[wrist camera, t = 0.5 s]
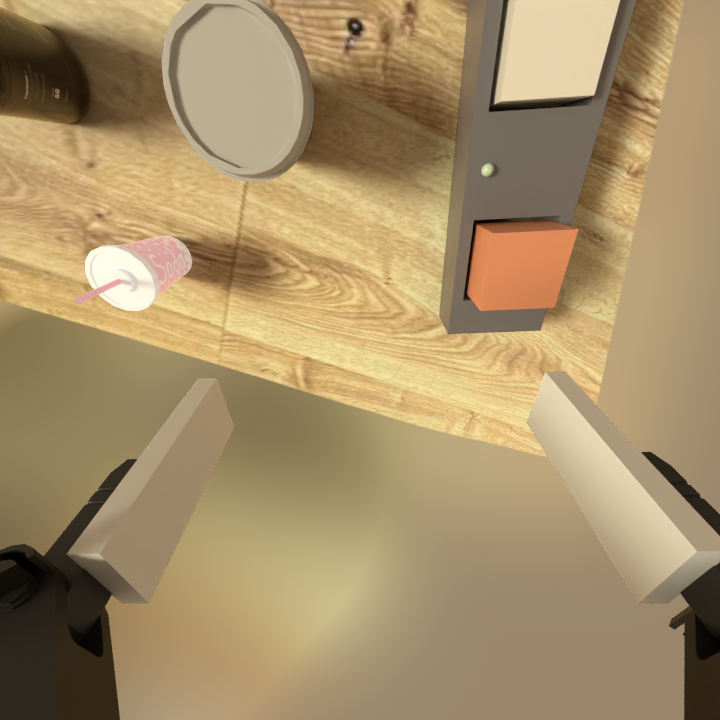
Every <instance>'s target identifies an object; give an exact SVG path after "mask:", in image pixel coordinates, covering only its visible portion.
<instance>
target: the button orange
mask: <svg viewBox="0 0 720 720" xmlns="http://www.w3.org/2000/svg"><path fill="white" fill-rule="evenodd" d="M578 230H579V229H577V228H573V227H570V226H567V225H563V224H560V223H557V222H553V221H550V220H540V221H521V222H501V223H482V224H475V230H474V237H473V244H472V252H471V259H470V266H469V273H468V281H467V288H466V294H467V295H468V296H469V297H470V299H471V300H472V301H473V302H474V304H475V305H476V306H477V307H478V309H479V310H480V311H490V310H514V309H538V308H555V305H556V302H557V299H558V296H559V292H560V289H561V286H562V282H563V279H564V276H565V273H566V269H567V266H568V263H569V259H570V256H571V253H572V250H573V246H574V243H575V240H576V236H577V233H578Z"/></svg>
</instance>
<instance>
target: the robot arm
mask: <svg viewBox="0 0 720 720" xmlns="http://www.w3.org/2000/svg"><path fill="white" fill-rule="evenodd" d="M527 424H528V425H529V427H530V428H531V430H532V432H533V433H534V435H535V437H536V438H537V440H538V441H539V443H540V445H541V446H542V448H543V450H544V451H545V453H546V455H547V456H548V458H549V459H550V461H551V463H552V464H553V466H554V468H555V469H556V471H557V472H558V474H559V476H560V477H561V479H562V481H563V482H564V484H565V485H566V487H567V489H568V490H569V492H570V493H571V495H572V497H573V498H574V500H575V502H576V503H577V505H578V507H579V508H580V510H581V511H582V513H583V515H584V516H585V518H586V520H587V521H588V523H589V525H590V526H591V528H592V529H593V531H594V533H595V534H596V536H597V538H598V539H599V541H600V542H601V544H602V546H603V547H604V549H605V551H606V552H607V554H608V555H609V557H610V559H611V560H612V562H613V563H614V565H615V567H616V568H617V570H618V572H619V573H620V575H621V577H622V578H623V580H624V582H625V583H626V585H627V586H628V588H629V590H630V591H631V593H632V595H633V596H634V598H635V599H636V601H637V603H669V602H670V601H671V600H673V599H674V598H675V597H676V596H678V595H679V594H680V593H681V594H682V596H683V597H684V598H685V600H686V601H687V603H688V604H689V607H687V608H686V609H685V610H683V611H682V612H681V613H679V614H678V615H677V616H675V617H674V618H672V619H671V622H670V625H669V626H670V627H671V628H673V629H676V628H678V627H679V626H680V625H682V624H683V623H685V632H684V633H683V635H684V636H685V685H684V687H685V689H684V693H685V695H684V696H685V697H684V704H685V705H684V707H685V708H684V711H685V712H684V720H720V514H719V513H718V512H717V511H716V510H715V509H714V508H713V507H712V506H710V504H709V503H708V502H707V501H706V500H704V499H701V497H700V494H699V493H697V492H696V490H695V489H694V488H693V487H692V486H691V485H688V484H687V481H686V480H685V479H684V478H683V477H682V476H681V475H680V474H679V473H678V472H677V471H676V470H675V469H674V468H673V467H672V466H670V465H669V464H668V463H666V462H665V461H663V460H662V459H660V458H659V457H657V456H656V455H654V454H653V453H651V452H640V451H639V450H638V449H637V448H636V447H635V445H634V444H633V443H632V442H631V441H630V440H629V439H628V438H627V437H626V436H625V435H624V434H623V433H622V432H621V431H620V430H619V428H618V427H617V426H616V425H615V424H614V423H613V422H612V421H611V420H610V419H609V418H608V417H607V416H606V415H605V413H604V412H603V411H602V410H601V409H600V408H599V407H598V406H597V405H596V404H595V403H594V402H593V401H592V400H591V399H590V397H589V396H588V395H587V394H586V393H585V392H584V391H583V390H582V389H581V388H580V387H579V386H578V385H577V384H576V383H575V382H574V380H573V379H572V378H571V377H570V376H569V375H568V374H567V373H566V372H545V374H544V377H543V380H542V383H541V385H540V388H539V391H538V394H537V396H536V399H535V402H534V405H533V407H532V410H531V413H530V416H529V418H528V421H527ZM233 428H234V426H233V423H232V420H231V417H230V415H229V412H228V409H227V406H226V404H225V400H224V398H223V395H222V392H221V389H220V387H219V384H218V381H217V378H215V379H214V378H210V379H209V378H208V379H197V381H196V382H195V383H194V385H193V386H192V387H191V389H190V390H189V391H188V393H187V394H186V396H185V397H184V398H183V399H182V401H181V402H180V403H179V405H178V406H177V407H176V409H175V410H174V411H173V413H172V414H171V415H170V417H169V418H168V419H167V421H166V422H165V423H164V425H163V426H162V427H161V429H160V430H159V431H158V433H157V434H156V435H155V437H154V438H153V440H152V441H151V442H150V443H149V445H148V446H147V447H146V449H145V450H144V452H143V453H142V454H141V455H140V457H139V458H138V459H131V460H130V459H128V460H126V461H125V462H124V463H123V464H121V465H120V466H119V467H118V468H116V469H115V470H114V471H113V472H111V473H110V475H109V476H108V477H107V478H106V480H105V481H104V482H103V483H102V485H101V486H100V487H99V490H98V491H97V492H95V493H94V495H93V496H92V497H91V498H90V500H89V501H88V504H87V505H85V506H84V507H83V508H82V510H81V511H80V512H79V513H78V514H77V516H76V517H75V518H74V519H73V521H72V522H71V523H70V524H69V526H68V527H67V528H66V530H65V531H64V532H63V533H62V534H61V536H60V537H59V538H58V539H57V541H56V542H55V543H54V544H53V546H52V547H51V548H50V549H49V551H48V552H47V553H46V554H45V555H44V557H43V556H42V555H41V554H39V553H38V552H37V551H36V550H35V549H33V548H32V547H30V546H28V545H25V544H21V545H14V546H10V547H7V548H5V549H2V550H0V720H120V717H119V708H118V699H117V689H116V680H115V671H114V662H113V653H112V645H111V636H110V626H109V617H108V613H107V610H106V609H105V605H106V604H107V602H108V600H109V598H110V596H111V595H113V596H114V597H115V598H116V599H117V600H119V601H120V602H121V603H149V602H150V600H151V598H152V596H153V594H154V592H155V590H156V588H157V586H158V584H159V582H160V580H161V577H162V576H163V573H164V571H165V569H166V567H167V565H168V563H169V561H170V559H171V557H172V555H173V553H174V550H175V549H176V546H177V544H178V542H179V540H180V538H181V536H182V534H183V532H184V530H185V528H186V526H187V524H188V522H189V519H190V517H191V515H192V513H193V511H194V509H195V507H196V505H197V503H198V501H199V499H200V497H201V494H202V492H203V490H204V488H205V486H206V484H207V482H208V480H209V478H210V476H211V474H212V471H213V469H214V468H215V465H216V463H217V461H218V459H219V457H220V455H221V453H222V451H223V449H224V447H225V445H226V443H227V441H228V438H229V436H230V434H231V432H232V430H233Z"/></svg>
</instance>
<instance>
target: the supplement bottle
mask: <svg viewBox="0 0 720 720" xmlns="http://www.w3.org/2000/svg"><path fill="white" fill-rule="evenodd" d="M88 105H89V87H88V83H87V79H86V76H85V74H84V71H83V69H82V67H81V65H80V63H79V61H78V60H77V58H76V57H75V55H74V54H73V52H72V51H71V50H70V49H69V47H68V46H67V45H66V44H65V43H64V42H63V41H62V40H61V39H60V38H59V37H58V36H56V35H55V34H54V33H53V32H51V31H50V30H48V29H47V28H45V27H43V26H41V25H39V24H37V23H35V22H33V21H31V20H29V19H26V18H24V17H22V16H19V15H17V14H15V13H12V12H10V11H8V10H6V9H3V8H1V7H0V115H1V116H8V117H16V118H23V119H30V120H38V121H45V122H52V123H61V124H69V123H74V122H76V121H78V120H80V119H81V118H82V117H83V116H84V115H85V113H86V111H87V109H88Z"/></svg>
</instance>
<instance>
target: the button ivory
mask: <svg viewBox="0 0 720 720" xmlns="http://www.w3.org/2000/svg"><path fill="white" fill-rule="evenodd" d="M619 2H620V0H503V7H502V15H501V22H500V30H499V37H498V45H497V52H496V59H495V67H494V74H493V82H492V89H491V97H490V104H489V110H504V109H519V108H534V107H550V106H561V105H564V104H567V103H570V102H574V101H577V100H580V99H584V98H587V97H590V96H593V95H594V94H595V91H596V87H597V83H598V80H599V76H600V72H601V69H602V65H603V61H604V58H605V54H606V50H607V47H608V43H609V39H610V35H611V32H612V28H613V24H614V21H615V17H616V13H617V10H618V6H619Z"/></svg>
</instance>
